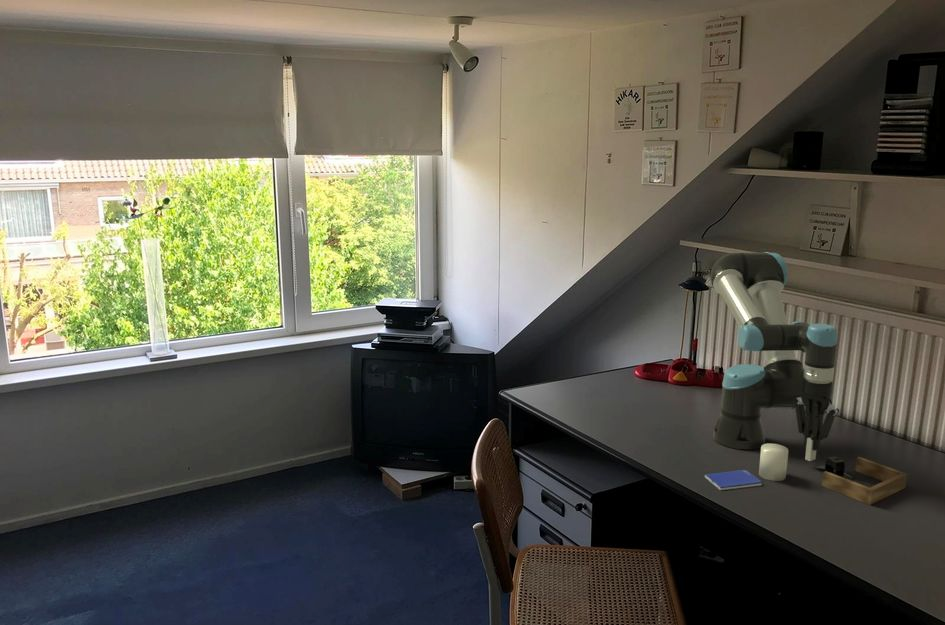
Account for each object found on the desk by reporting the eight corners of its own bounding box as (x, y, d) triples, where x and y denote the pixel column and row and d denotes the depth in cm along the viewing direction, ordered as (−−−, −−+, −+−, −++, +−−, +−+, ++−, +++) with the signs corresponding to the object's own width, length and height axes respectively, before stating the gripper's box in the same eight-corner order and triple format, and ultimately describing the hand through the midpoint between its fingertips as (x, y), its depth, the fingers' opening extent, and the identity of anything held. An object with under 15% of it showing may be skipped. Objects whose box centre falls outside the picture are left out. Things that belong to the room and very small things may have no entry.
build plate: (861, 482, 205) (863, 467, 204) (839, 486, 203) (841, 470, 202) (828, 463, 217) (830, 449, 216) (807, 467, 215) (808, 452, 214)
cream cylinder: (753, 473, 209) (755, 447, 208) (768, 467, 213) (771, 441, 211) (775, 483, 204) (778, 455, 202) (791, 476, 208) (793, 449, 206)
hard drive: (745, 468, 210) (704, 473, 208) (762, 481, 202) (720, 486, 200) (744, 474, 211) (704, 478, 208) (761, 486, 203) (720, 492, 200)
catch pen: (821, 485, 202) (823, 472, 201) (857, 469, 211) (859, 456, 211) (870, 505, 191) (871, 490, 190) (905, 487, 201) (907, 473, 200)
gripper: (788, 376, 212) (781, 454, 217) (832, 388, 201) (823, 470, 206) (804, 372, 216) (797, 449, 221) (848, 383, 205) (839, 464, 210)
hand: (810, 459), depth 213 cm, fingers closed
